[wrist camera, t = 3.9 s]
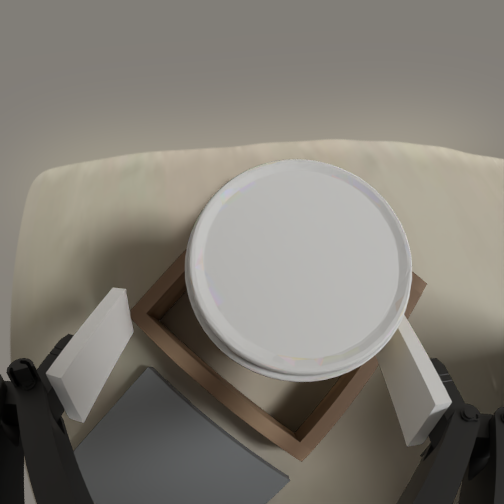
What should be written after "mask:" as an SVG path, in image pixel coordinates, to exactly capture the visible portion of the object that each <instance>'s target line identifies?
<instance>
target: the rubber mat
mask: <svg viewBox="0 0 504 504" xmlns="http://www.w3.org/2000/svg"><path fill="white" fill-rule="evenodd" d="M73 452H74V455H75V458H76V461H77V463H78V466H79V469H80V471H81V474H82V477H83V479H84V481H85V484H86V486H87V489H88V491H89V493H90V496H91V498H92V500H93V502H94V503H95V504H266V503H267V502H268V501H269V500H270V499H271V498H273V497H274V496H275V495H276V494H277V493H278V492H279V491H280V490H281V489H282V488H283V487H284V486H285V485H286V484H287V483H288V482H289V481H290V479H289V476H287V475H286V474H284V473H283V472H281V471H280V470H278V469H277V468H275V467H274V466H272V465H271V464H269V463H268V462H266V461H265V460H263V459H262V458H261V457H259V456H258V455H256V454H255V453H254V452H252V451H251V450H249V449H248V448H247V447H245V446H244V445H243V444H241V443H240V442H239V441H237V440H236V439H235V438H233V437H232V436H231V435H230V434H228V433H227V432H226V431H224V430H223V429H222V428H221V427H219V426H218V425H217V424H216V423H214V422H213V421H212V420H211V419H210V418H208V417H207V416H206V415H205V414H204V413H202V412H201V411H200V410H199V409H198V408H196V407H195V406H194V405H193V404H192V403H191V402H190V401H188V400H187V399H186V398H185V397H184V396H183V395H182V394H181V393H179V392H178V391H177V390H176V389H175V388H174V387H173V386H172V385H171V384H170V383H169V382H168V381H166V380H165V379H164V378H163V377H162V376H161V375H160V374H159V373H158V372H157V371H156V370H155V369H154V368H153V367H148V368H147V369H146V370H145V371H144V372H143V373H142V374H141V376H140V377H139V378H138V379H137V380H136V381H135V382H134V383H133V385H132V386H131V387H130V388H129V389H128V390H127V391H126V392H125V394H124V395H123V396H122V397H121V398H120V399H119V400H118V401H117V403H116V404H115V405H114V406H113V407H112V408H111V409H110V411H109V412H108V413H107V414H106V415H105V416H104V417H103V418H102V420H101V421H100V422H99V423H98V424H97V425H96V426H95V427H94V429H93V430H92V431H91V432H90V433H89V434H88V435H87V436H86V438H85V439H84V440H83V441H82V442H81V443H80V444H79V446H78V447H77V448H76V449H75V450H74V451H73Z"/></svg>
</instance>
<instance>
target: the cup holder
mask: <svg viewBox="0 0 504 504" xmlns="http://www.w3.org/2000/svg"><path fill="white" fill-rule="evenodd" d="M186 250H187V249H186ZM186 250H185V251H184V252H183V253H182V254H181V255H180V256H179V258H178V259H177V260H176V261H175V262H174V263H173V264H172V265H171V266H170V267H169V268H168V269H167V270H166V272H165V273H164V274H163V275H162V276H161V277H160V278H159V279H158V280H157V281H156V283H155V284H154V285H153V286H152V287H151V288H150V289H149V290H148V291H147V293H146V294H145V295H144V296H143V297H142V298H141V299H140V300H139V302H138V303H137V304H136V305H135V306H134V307H133V308H132V309H131V311H130V316H131V319H132V320H133V321H134V322H135V323H136V324H137V325H138V326H139V327H140V328H141V329H142V330H143V331H144V333H145V334H146V335H147V336H148V337H149V338H150V339H151V340H152V341H154V342H155V343H156V344H157V345H158V346H159V347H160V348H161V349H162V350H163V351H164V352H165V353H166V354H167V355H168V356H169V357H170V358H171V359H172V360H173V361H174V362H175V363H177V364H178V365H179V366H180V367H181V368H182V369H183V370H184V371H185V372H186V373H187V374H189V375H190V376H191V377H192V378H193V379H194V380H195V381H196V382H198V383H199V384H200V385H201V386H202V387H203V388H205V389H206V390H207V391H208V392H209V393H210V394H212V395H213V396H214V397H215V398H216V399H218V400H219V401H220V402H221V403H222V404H224V405H225V406H226V407H227V408H229V409H230V410H231V411H232V412H234V413H235V414H236V415H237V416H239V417H240V418H241V419H242V420H244V421H245V422H246V423H248V424H249V425H250V426H252V427H253V428H254V429H256V430H257V431H258V432H260V433H261V434H262V435H264V436H265V437H266V438H268V439H269V440H271V441H272V442H273V443H275V444H276V445H278V446H279V447H280V448H282V449H283V450H285V451H286V452H288V453H289V454H291V455H292V456H294V457H295V458H297V459H298V460H300V461H301V462H302V461H303V460H304V459H305V458H306V457H307V456H308V455H309V454H310V452H311V451H312V450H313V449H314V448H315V447H316V446H317V445H318V443H319V442H320V441H321V440H322V439H323V438H324V436H325V435H326V434H327V433H328V432H329V431H330V429H331V428H332V427H333V426H334V425H335V423H336V422H337V421H338V420H339V418H340V417H341V416H342V415H343V413H344V412H345V411H346V409H347V408H348V407H349V406H350V404H351V403H352V402H353V400H354V399H355V398H356V396H357V395H358V394H359V392H360V391H361V390H362V388H363V387H364V385H365V384H366V383H367V381H368V380H369V378H370V377H371V376H372V374H373V373H374V371H375V370H376V368H377V367H378V365H379V363H378V361H377V358H376V355H375V356H374V357H372V358H371V359H370V360H368V361H367V362H365V363H364V364H363V365H361V366H359V367H357V368H356V369H354V370H352V371H350V372H347V373H345V374H342V376H341V377H340V378H339V380H338V381H337V382H336V384H335V385H334V386H333V387H332V389H331V390H330V391H329V393H328V394H327V395H326V396H325V398H324V399H323V400H322V401H321V403H320V404H319V405H318V406H317V407H316V409H315V410H314V411H313V412H312V413H311V415H310V416H309V417H308V418H307V419H306V421H305V422H304V423H303V424H302V425H301V426H300V428H299V429H298V430H297V431H296V432H295V433H294V432H292V431H291V430H289V429H288V428H287V427H285V426H284V425H283V424H281V423H280V422H278V421H277V420H276V419H274V418H273V417H272V416H270V415H269V414H268V413H266V412H265V411H264V410H262V409H261V408H260V407H259V406H257V405H256V404H255V403H253V402H252V401H251V400H250V399H248V398H247V397H246V396H244V395H243V394H242V393H241V392H239V391H238V390H237V389H236V388H235V387H233V386H232V385H231V384H230V383H228V382H227V381H226V380H225V379H224V378H222V377H221V376H220V375H219V374H218V373H216V372H215V371H214V370H213V369H212V368H211V367H209V366H208V365H207V364H206V363H205V362H204V361H203V360H201V359H200V358H199V357H198V356H197V355H196V354H195V353H194V352H192V351H191V350H190V349H189V348H188V347H187V346H186V345H185V344H184V343H183V342H181V341H180V340H179V339H178V338H177V337H176V336H175V335H174V334H173V333H172V332H171V331H170V330H169V329H168V328H166V327H165V326H164V325H163V324H162V323H161V322H160V321H159V320H160V319H161V318H162V317H163V316H164V315H165V314H166V313H167V311H168V310H169V309H170V308H171V307H172V306H173V305H174V304H175V302H176V301H177V300H178V299H179V298H180V297H181V296H182V295H183V294H184V292H185V291H186V290H187V287H186V282H185V256H186ZM426 285H427V283H426V282H424V281H423V280H422V279H421V278H420V277H418V276H417V275H416V274H415V273H414V272H412V282H411V289H410V296H409V300H408V304H407V308H406V311H405V313H404V315H405V317H406V318H407V319H408V318H409V316H410V314H411V312H412V311H413V309H414V307H415V305H416V303H417V302H418V300H419V298H420V296H421V294H422V292H423V290H424V289H425V287H426Z"/></svg>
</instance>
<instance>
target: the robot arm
mask: <svg viewBox="0 0 504 504" xmlns="http://www.w3.org/2000/svg"><path fill="white" fill-rule="evenodd" d="M133 332H134V331H133V326H132V321H131V316H130V310H129V305H128V299H127V293H126V289H122V288H114V287H113V288H112V289H111V290H110V292H109V293H108V294H107V295H106V296H105V298H104V299H103V300H102V301H101V302H100V304H99V305H98V306H97V307H96V308H95V310H94V311H93V312H92V313H91V315H90V316H89V317H88V318H87V320H86V321H85V322H84V323H83V325H82V326H81V327H80V328H79V330H78V331H77V332H76V333H75V335H71V334H68V335H67V336H65V337H64V338H62V339H61V340H60V341H59V342H58V343H57V344H56V346H55V348H53V349H52V351H51V352H50V354H48V356H47V357H46V358H45V360H44V361H43V362H42V364H41V365H40V366H39V368H38V369H37V370H36V368H35V366H34V364H33V362H32V361H31V360H30V359H26V358H22V359H18V360H15V361H14V362H12V363H11V364H10V365H9V367H8V368H7V374H8V376H9V378H10V380H11V381H4V380H3V378H2V377H1V375H0V504H24V456H25V460H26V465H27V469H28V473H29V477H30V481H31V485H32V488H33V492H34V495H35V499H36V502H37V504H94V502H93V500H92V498H91V496H90V493H89V491H88V489H87V486H86V484H85V481H84V479H83V477H82V474H81V471H80V469H79V466H78V463H77V461H76V458H75V455H74V452H73V449H72V446H71V443H70V440H69V437H68V434H67V431H66V427H65V424H64V420H63V419H62V417H61V415H62V413H63V412H64V410H65V412H66V414H67V415H68V417H69V418H70V419H73V420H76V421H79V422H82V423H84V422H85V420H86V418H87V416H88V414H89V412H90V410H91V408H92V406H93V404H94V403H95V401H96V399H97V397H98V395H99V393H100V391H101V389H102V388H103V386H104V384H105V382H106V380H107V378H108V376H109V375H110V373H111V371H112V369H113V367H114V366H115V364H116V362H117V360H118V358H119V357H120V355H121V353H122V351H123V350H124V348H125V346H126V344H127V343H128V341H129V339H130V337H131V336H132V334H133ZM376 358H377V361H378V363H379V366H380V369H381V371H382V374H383V377H384V380H385V382H386V385H387V388H388V391H389V394H390V396H391V399H392V402H393V405H394V408H395V411H396V414H397V417H398V420H399V423H400V426H401V429H402V432H403V436H404V439H405V442H406V445H407V447H408V446H414V445H419V444H423V442H424V441H425V440H426V438H427V437H428V436H429V438H430V441H431V443H430V444H429V446H428V447H427V448H426V449H425V451H424V452H423V453H422V454H421V457H422V459H421V461H420V463H419V465H418V467H417V469H416V471H415V473H414V475H413V477H412V478H411V480H410V482H409V484H408V486H407V487H406V489H405V491H404V492H403V494H402V496H401V497H400V499H399V501H398V502H397V504H452V503H453V501H454V498H455V496H456V494H457V491H458V489H459V486H460V484H461V481H462V486H461V493H460V499H459V504H504V407H500V408H498V409H497V411H496V412H495V413H494V415H488V414H480V413H479V411H478V410H477V409H476V407H474V406H472V405H470V404H465V403H464V401H463V399H462V397H461V395H460V393H459V391H458V390H457V388H456V386H455V384H454V382H453V381H452V378H451V377H450V375H448V371H447V369H446V368H445V366H444V365H443V364H442V363H441V362H440V361H439V360H438V359H437V358H433V359H429V357H428V355H427V353H426V351H425V350H424V348H423V346H422V344H421V342H420V341H419V339H418V337H417V335H416V334H415V332H414V330H413V329H412V327H411V325H410V323H409V322H408V320H407V318H406V317H405V315H404V316H403V318H402V321H401V322H400V324H399V326H398V328H397V330H396V332H395V333H394V334H393V336H392V337H391V339H390V340H389V341H388V343H387V344H386V345H385V346H384V347H383V348H382V349H381V350H380V351H379V352H378V353H377V354H376Z"/></svg>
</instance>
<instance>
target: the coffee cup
mask: <svg viewBox="0 0 504 504" xmlns="http://www.w3.org/2000/svg"><path fill="white" fill-rule="evenodd" d="M185 282H186V287H187V292H188V296H189V299H190V303H191V306H192V308H193V311H194V313H195V315H196V318H197V319H198V321H199V323H200V325H201V326H202V328H203V330H204V331H205V332H206V334H207V335H208V336H209V338H210V339H211V340H212V341H213V343H214V344H215V345H216V346H217V347H218V348H219V349H220V350H221V351H222V352H224V353H225V354H226V355H227V356H228V357H230V358H231V359H232V360H234V361H235V362H237V363H238V364H240V365H241V366H243V367H245V368H247V369H249V370H251V371H253V372H255V373H258V374H261V375H263V376H266V377H269V378H274V379H278V380H282V381H291V382H313V381H320V380H326V379H330V378H334V377H337V376H340V375H342V374H345V373H347V372H350V371H352V370H354V369H356V368H357V367H359V366H361V365H363V364H364V363H365V362H367V361H368V360H370V359H371V358H372V357H374V356H375V355H376V354H377V353H378V352H379V351H380V350H381V349H382V348H383V347H384V346H385V345H386V344H387V343H388V341H389V340H390V339H391V337H392V336H393V334H394V333H395V332H396V330H397V328H398V326H399V324H400V322H401V321H402V318H403V316H404V313H405V311H406V308H407V304H408V300H409V296H410V289H411V282H412V259H411V252H410V247H409V243H408V240H407V237H406V234H405V231H404V229H403V227H402V224H401V222H400V221H399V219H398V217H397V215H396V214H395V212H394V211H393V209H392V208H391V206H390V205H389V204H388V203H387V201H386V200H385V199H384V198H383V197H382V196H381V195H380V194H379V193H378V192H377V191H376V190H375V189H374V188H373V187H372V186H370V185H369V184H368V183H366V182H365V181H364V180H362V179H361V178H359V177H358V176H356V175H354V174H352V173H350V172H348V171H346V170H344V169H342V168H340V167H337V166H334V165H331V164H327V163H323V162H319V161H313V160H303V159H288V160H278V161H273V162H269V163H265V164H261V165H258V166H255V167H253V168H251V169H249V170H246V171H244V172H243V173H241V174H239V175H237V176H236V177H234V178H233V179H231V180H230V181H229V182H227V183H226V184H225V185H224V186H223V187H222V188H220V189H219V190H218V191H217V193H216V194H215V195H214V196H213V197H212V198H211V199H210V201H209V202H208V203H207V205H206V206H205V207H204V209H203V210H202V211H201V213H200V215H199V217H198V218H197V220H196V222H195V224H194V227H193V229H192V231H191V234H190V238H189V241H188V244H187V250H186V256H185Z"/></svg>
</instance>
